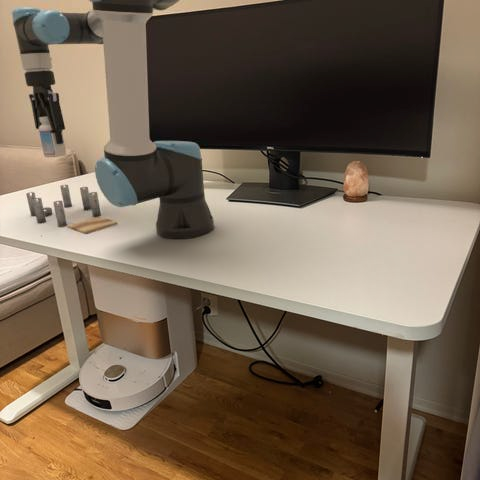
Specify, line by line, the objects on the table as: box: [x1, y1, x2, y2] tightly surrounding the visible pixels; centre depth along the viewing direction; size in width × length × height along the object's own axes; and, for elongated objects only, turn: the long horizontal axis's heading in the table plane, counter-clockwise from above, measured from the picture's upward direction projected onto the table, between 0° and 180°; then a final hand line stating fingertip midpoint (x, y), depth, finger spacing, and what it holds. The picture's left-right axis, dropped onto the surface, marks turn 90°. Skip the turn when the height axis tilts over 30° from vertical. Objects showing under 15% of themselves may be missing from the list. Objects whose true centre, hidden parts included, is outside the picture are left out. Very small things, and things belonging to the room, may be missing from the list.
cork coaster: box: [66, 216, 119, 235], centre depth 131 cm, size 10×10×1 cm
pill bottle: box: [38, 116, 67, 158], centre depth 134 cm, size 6×6×11 cm
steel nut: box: [43, 206, 53, 218], centre depth 144 cm, size 4×4×2 cm
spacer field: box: [26, 184, 102, 228], centre depth 141 cm, size 20×17×7 cm
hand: (55, 154), depth 136 cm, fingers closed on pill bottle, 6 cm apart
